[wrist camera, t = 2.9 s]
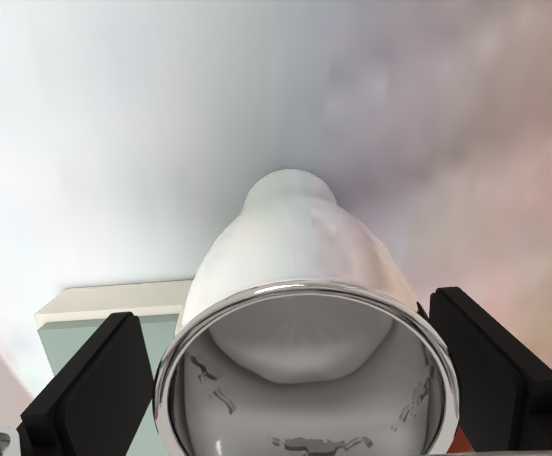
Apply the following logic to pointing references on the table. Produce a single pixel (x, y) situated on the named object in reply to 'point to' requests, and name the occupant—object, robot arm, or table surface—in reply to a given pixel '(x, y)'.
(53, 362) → the base
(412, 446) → the beer glass
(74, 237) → the table surface
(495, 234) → the table surface
